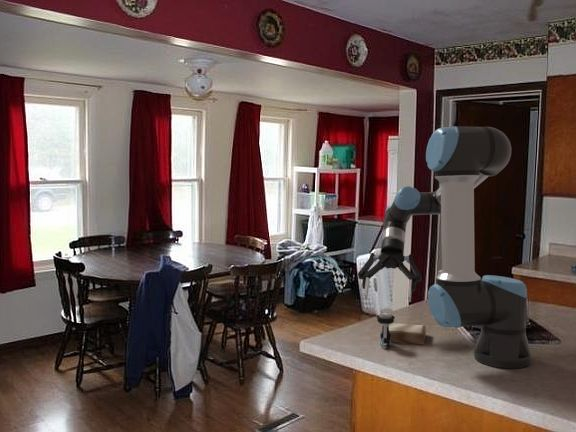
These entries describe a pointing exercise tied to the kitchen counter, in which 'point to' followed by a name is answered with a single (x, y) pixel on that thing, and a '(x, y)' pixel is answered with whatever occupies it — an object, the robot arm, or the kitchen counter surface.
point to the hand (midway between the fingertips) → (387, 298)
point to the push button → (385, 327)
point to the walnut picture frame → (407, 333)
